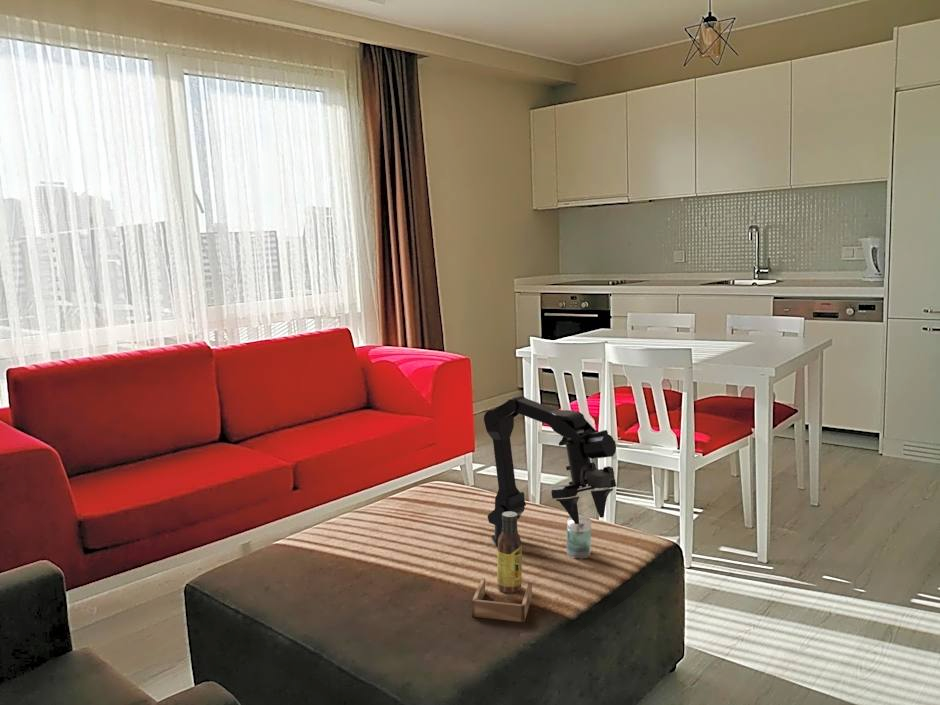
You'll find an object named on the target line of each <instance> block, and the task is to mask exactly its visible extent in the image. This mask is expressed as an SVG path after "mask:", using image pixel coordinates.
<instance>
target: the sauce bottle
mask: <svg viewBox="0 0 940 705" xmlns="http://www.w3.org/2000/svg"><path fill="white" fill-rule="evenodd" d="M518 520H519V519H518V514H517V513H515V512H512V511H508V512H503V513H502V533H501V534H500V535H499V538H498V546H497V551H496V554H497V555H496V557H497V558H496V562H497V564H496V566H497V567H496V570H497V571H496V578H497V579H496V582H497V588H498V590H499V591H500V592H502V593H507V594H512V593H516V592H519V591H520V590H521V589H522V582H523V581H522V580H523V579H522V578H523V577H522V576H523V575H522V571H523V568H522V567H523V565H522V564H523V542H522V540H521V537H520V535H519V531H518Z"/></svg>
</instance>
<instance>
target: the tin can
mask: <svg viewBox="0 0 940 705" xmlns="http://www.w3.org/2000/svg"><path fill="white" fill-rule="evenodd" d="M591 544H592V519H590V518H589V517H588V516H584V515H579V524H575V523H574V521H573V520H572V518H571V517H570V516H569V517H568V518H567V521H566V555H569V556H571V557H574V558H586V559H588V558H590V557H591V549H592V545H591ZM569 556H568V557H569ZM589 556H590V557H589ZM571 557H570V558H571ZM587 557H588V558H587ZM574 558H573V559H574Z"/></svg>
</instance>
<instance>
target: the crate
mask: <svg viewBox="0 0 940 705" xmlns="http://www.w3.org/2000/svg"><path fill="white" fill-rule="evenodd" d="M532 588H533V584H532V582H528V584H527V587H526V590H525V593H524V597H523V599H522V602H521V604H520V603H513V602H502V601H493V600H483V599H484V596H485V594H486V577H481V580H480V582H479V584H478V586H477V588H476V590H475V593H474V595H473V597H472V599H471V617H474V618H485V619H494V620H500V621H501V620H502V621H509V622H520V623H525V622H526V617H527V615H528V612H529V608H530V606H531V601H532V598H533V596H532V595H533V594H532V593H533V589H532Z"/></svg>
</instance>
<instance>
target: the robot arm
mask: <svg viewBox="0 0 940 705" xmlns="http://www.w3.org/2000/svg"><path fill="white" fill-rule="evenodd" d="M582 413H583V412H580V411H575V410H569V409H567V410H566V409H565V410H564V409H556V408H553V407H551V406H548V405H545V404H542V403H539V402H537V401H534V400H532V399H528V398H527V397H525V396H523V395H518V396H514V397H510V398H509V399H508V400H507V401H505V402H504V403H502V404H501V405H499V406H498V407H496V408H491V409H489V410H487V411H486V412H485V413H484V415H483V422H484V425H485V426H484V427H485V429H486V433H487V434H488V435H489V436H490V438H491V439H492V444H493V453H494V459H495V471H496V477H497V485H498V489H497V492H496V495H495V499H494V509H493V510H492V511H491V512H490V513H489V514H488V515H487V521H488V523H489V524H491V525H494V534H492V535H491V536H490V537H491V539H492V542H493V543H494V545H495V546H497V547H498V538H499V535H500V534H501V533H502V513H503V512H508V511H512V512H515V513H517V514H518V520H519V519H520V518H521V515H522V514H523V513H524V512H525V509H526V508H525V506H527V503H526V500H525V492H523V491H522V492H521V491H520V490H519V489H518V487H517V484H516V477H515V468H514V460H513V451H512V444H511V436H512V433H513V430H514V426H515V418H516V417H517V416H519V415H521V416H524V417H527V418H529V419H532V420H534V421H538V422H539V423H543V424H545V425H547V426H548V427H550V428H551V429H552V430H553V432H555V433H556V434H558V435H559V436H561V437H562V439H561V440H560V441H559V442H558V446H560V447H561V446H565V449H566V455H567V461H568V465H567V466H565V468H566V471H569V474H570V479H571V481H569V482H568V484H566V485H563V484H562V485H557V486H555V487H554V486H553V487H552V489H551V498H552V499H555V501H556V502H559V503H560V505H561V506H562V507H563V508H564V509H565V512H567V514H568V516H569V517H571V518H572V520H573V521H574V523H575V524H579V516H580V515H579V509H578V502H579V499H580V496H578V493H580V492H585V491H590V494H591V496H592V500H593V502H594V506H595V509H596V512H597V514H598V516H599V517H598V518H603V519H604V516H605V511H606V504H607V500H608V496H609V494H610V493H611V492H612V491H614V487H617V483H616V479H615V478H616V477H615V471H614V468H613V467H612V466H609V465H608V466H604V467H603V469H602V468H600V469H598V468H597V465H596V464H595V462H592V461H591V459H593V460H594V459H603V458H611V457H613V456H615V454H616V451H617V444H616V441H615V440H614V438H613V437H612V435H610V434H609V433H608V430H607V429H604V430H601V431H597V430H596V429H595V428H594V427H593V426H592V424H590V423H589V421H588V420H586V418H585V416H584V414H582Z"/></svg>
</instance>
